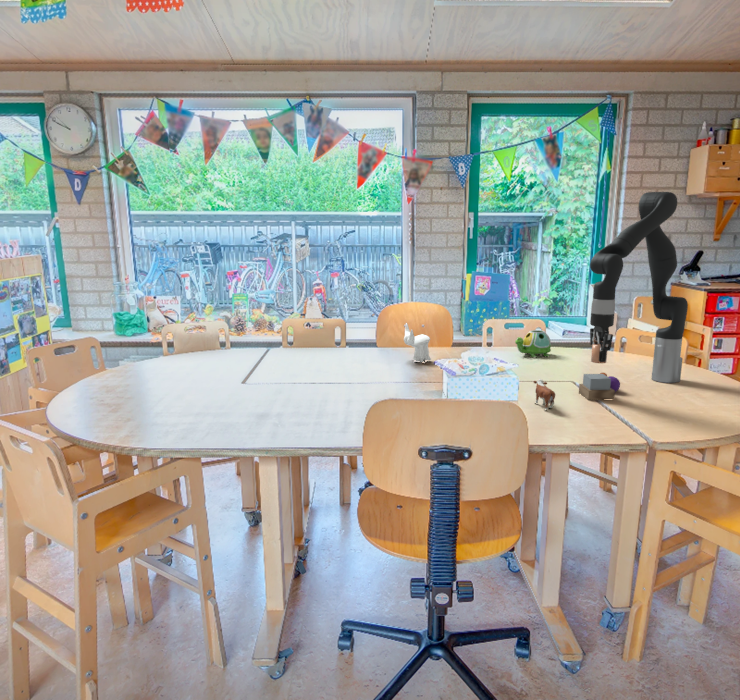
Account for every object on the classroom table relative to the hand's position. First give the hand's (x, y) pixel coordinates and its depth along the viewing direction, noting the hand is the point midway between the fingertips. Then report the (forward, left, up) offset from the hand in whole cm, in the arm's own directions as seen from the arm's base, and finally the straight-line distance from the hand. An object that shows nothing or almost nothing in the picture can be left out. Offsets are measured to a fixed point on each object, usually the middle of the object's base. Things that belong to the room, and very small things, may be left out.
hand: (598, 359), depth 192 cm
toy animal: (+59, -60, -14) cm, 85 cm away
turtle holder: (+2, -70, -14) cm, 71 cm away
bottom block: (0, -1, -14) cm, 14 cm away
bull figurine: (+22, +10, -14) cm, 28 cm away
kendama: (-10, -14, -14) cm, 22 cm away
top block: (0, -1, -10) cm, 10 cm away
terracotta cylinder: (0, 0, -1) cm, 1 cm away
